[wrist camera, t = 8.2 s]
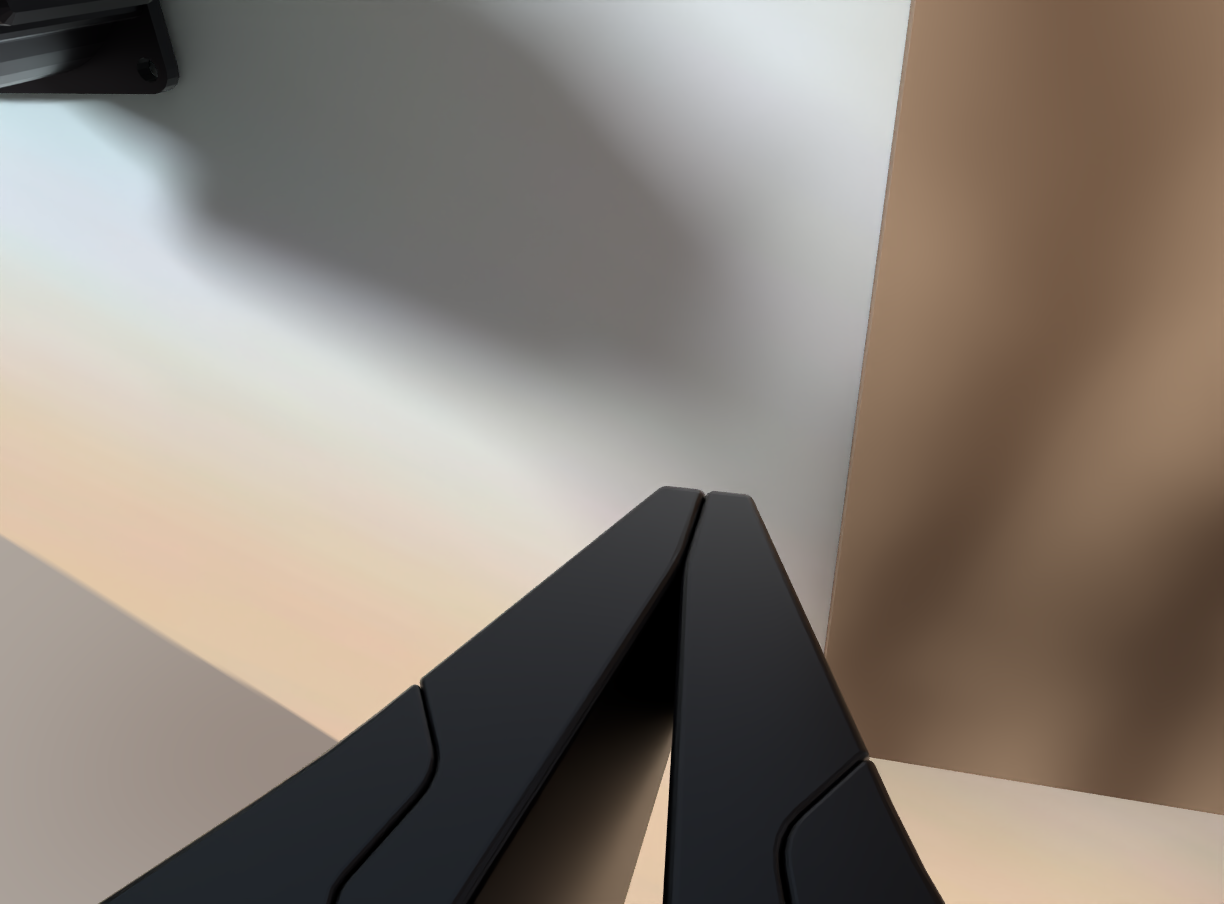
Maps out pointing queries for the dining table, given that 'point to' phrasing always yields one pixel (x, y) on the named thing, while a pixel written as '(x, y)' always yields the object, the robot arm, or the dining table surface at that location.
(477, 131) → the dining table surface
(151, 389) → the dining table surface
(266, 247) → the dining table surface
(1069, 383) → the board
